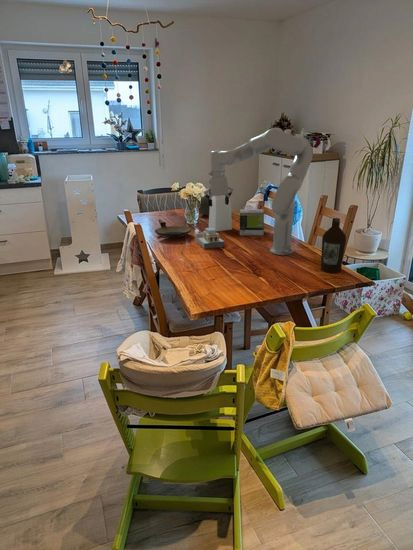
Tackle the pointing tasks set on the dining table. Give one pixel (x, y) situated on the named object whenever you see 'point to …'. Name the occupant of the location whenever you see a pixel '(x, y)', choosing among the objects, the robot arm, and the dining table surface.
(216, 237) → the pallet
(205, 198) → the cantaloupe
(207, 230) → the tote
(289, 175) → the robot arm
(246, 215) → the tea box
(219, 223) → the milk
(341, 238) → the olive oil
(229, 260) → the dining table surface
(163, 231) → the oil lamp
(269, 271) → the dining table surface
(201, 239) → the dock
